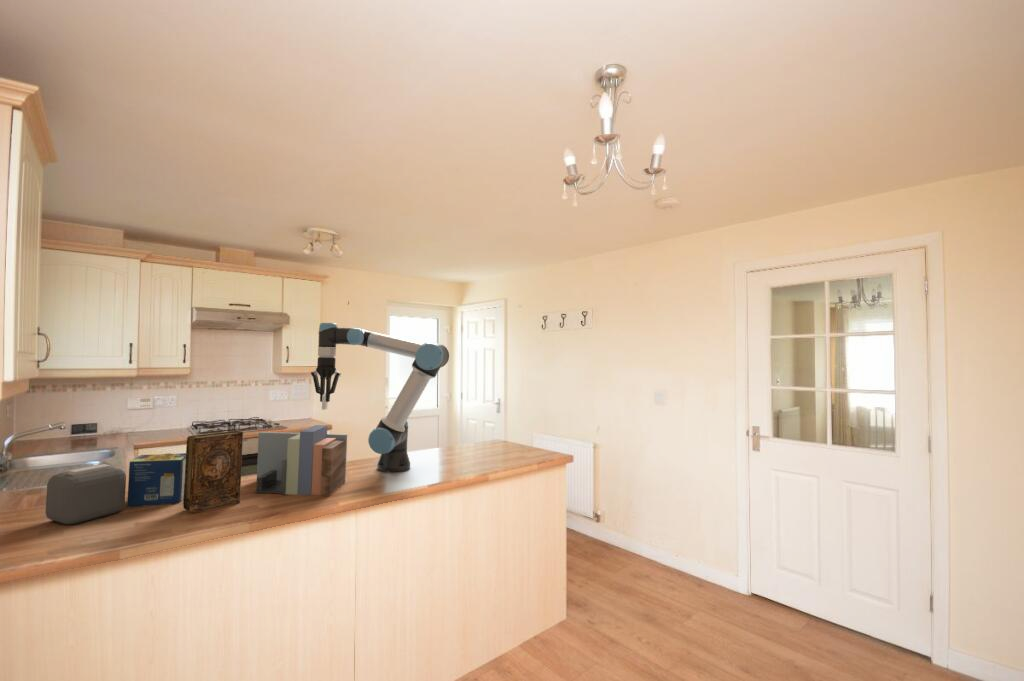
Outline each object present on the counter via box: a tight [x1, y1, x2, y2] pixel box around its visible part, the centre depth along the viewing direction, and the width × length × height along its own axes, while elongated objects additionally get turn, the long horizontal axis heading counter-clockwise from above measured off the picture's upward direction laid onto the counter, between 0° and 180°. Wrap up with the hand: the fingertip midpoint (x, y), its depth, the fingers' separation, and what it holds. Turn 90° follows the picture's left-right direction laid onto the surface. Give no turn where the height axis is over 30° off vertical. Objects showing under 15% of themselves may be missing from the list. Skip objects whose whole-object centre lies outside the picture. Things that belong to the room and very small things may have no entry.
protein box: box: [126, 452, 186, 507], centre depth 166 cm, size 10×15×16 cm
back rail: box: [256, 431, 348, 484], centre depth 194 cm, size 36×1×20 cm, turn 92°
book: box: [182, 430, 244, 514], centre depth 162 cm, size 16×6×25 cm, turn 143°
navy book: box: [297, 424, 328, 496], centre depth 185 cm, size 5×15×24 cm, turn 2°
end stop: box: [320, 440, 346, 497], centre depth 186 cm, size 4×17×18 cm, turn 2°
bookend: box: [254, 457, 287, 495], centre depth 185 cm, size 12×16×13 cm
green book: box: [284, 434, 300, 496], centre depth 185 cm, size 4×15×21 cm, turn 2°
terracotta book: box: [310, 438, 336, 496], centre depth 185 cm, size 4×14×19 cm, turn 2°
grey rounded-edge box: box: [45, 463, 127, 525], centre depth 149 cm, size 16×11×16 cm
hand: (324, 409), depth 210 cm, fingers closed
